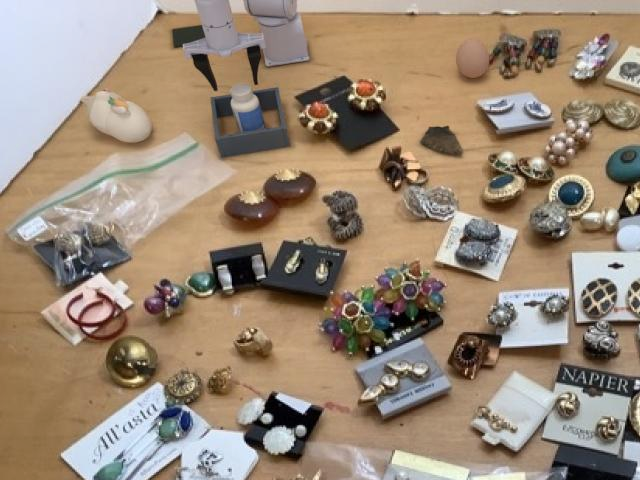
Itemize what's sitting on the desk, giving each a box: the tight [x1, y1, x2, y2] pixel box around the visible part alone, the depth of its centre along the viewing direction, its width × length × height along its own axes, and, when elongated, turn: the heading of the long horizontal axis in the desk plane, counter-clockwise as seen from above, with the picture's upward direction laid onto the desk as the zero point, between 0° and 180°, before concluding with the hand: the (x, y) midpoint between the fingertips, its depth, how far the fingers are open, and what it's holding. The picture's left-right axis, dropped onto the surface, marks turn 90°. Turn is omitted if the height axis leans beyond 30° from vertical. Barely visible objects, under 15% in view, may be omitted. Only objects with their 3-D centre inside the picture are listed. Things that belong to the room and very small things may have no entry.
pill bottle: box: [230, 82, 267, 133], centre depth 160 cm, size 6×5×10 cm
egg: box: [455, 37, 490, 79], centre depth 173 cm, size 7×7×8 cm
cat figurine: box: [80, 87, 153, 144], centre depth 160 cm, size 10×8×15 cm
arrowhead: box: [419, 125, 464, 155], centre depth 162 cm, size 7×10×1 cm
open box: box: [209, 86, 291, 159], centre depth 162 cm, size 14×14×4 cm
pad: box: [171, 24, 206, 48], centre depth 183 cm, size 8×7×1 cm
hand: (235, 85), depth 156 cm, fingers open, 7 cm apart
